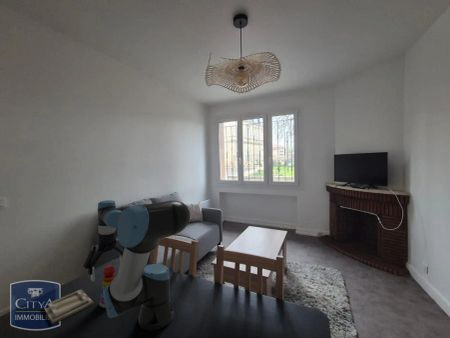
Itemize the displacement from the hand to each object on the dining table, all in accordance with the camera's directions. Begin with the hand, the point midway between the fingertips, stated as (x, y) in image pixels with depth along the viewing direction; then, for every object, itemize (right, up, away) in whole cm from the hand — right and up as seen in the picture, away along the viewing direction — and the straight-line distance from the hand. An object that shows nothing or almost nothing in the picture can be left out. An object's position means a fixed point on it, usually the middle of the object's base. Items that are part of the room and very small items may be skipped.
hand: (107, 274), depth 103 cm
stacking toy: (0, -15, 0) cm, 15 cm away
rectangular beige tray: (-18, -15, -2) cm, 23 cm away
